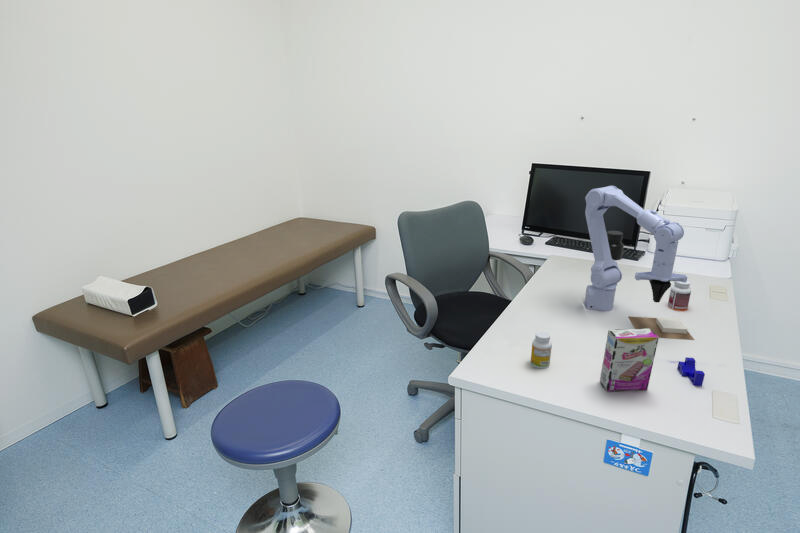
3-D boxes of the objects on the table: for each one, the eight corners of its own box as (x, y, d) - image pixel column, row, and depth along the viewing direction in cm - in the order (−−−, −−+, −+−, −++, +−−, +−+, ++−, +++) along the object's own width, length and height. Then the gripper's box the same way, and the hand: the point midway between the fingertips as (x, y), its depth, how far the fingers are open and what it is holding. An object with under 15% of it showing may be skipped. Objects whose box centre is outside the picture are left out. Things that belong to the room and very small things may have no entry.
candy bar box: (607, 392, 121) (616, 338, 116) (599, 381, 126) (607, 328, 120) (649, 391, 122) (659, 336, 116) (639, 380, 126) (649, 327, 121)
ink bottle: (607, 252, 223) (611, 228, 219) (625, 256, 217) (629, 232, 213) (597, 257, 218) (600, 232, 213) (615, 261, 211) (619, 236, 207)
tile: (663, 327, 147) (687, 329, 146) (656, 317, 154) (679, 319, 152) (662, 332, 148) (686, 334, 147) (655, 322, 154) (678, 323, 153)
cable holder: (677, 369, 131) (679, 356, 130) (690, 370, 130) (693, 357, 129) (687, 385, 124) (690, 372, 122) (701, 386, 123) (704, 374, 122)
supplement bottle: (535, 356, 139) (537, 328, 135) (552, 362, 135) (555, 333, 132) (527, 364, 135) (529, 335, 131) (545, 370, 132) (548, 341, 128)
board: (638, 339, 147) (639, 336, 146) (627, 318, 159) (627, 316, 159) (694, 342, 144) (694, 340, 143) (677, 321, 156) (678, 319, 156)
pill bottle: (690, 310, 164) (696, 282, 160) (681, 315, 161) (687, 286, 157) (672, 304, 169) (678, 276, 165) (663, 308, 166) (669, 280, 162)
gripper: (642, 265, 141) (635, 305, 146) (694, 267, 138) (685, 307, 143) (635, 257, 148) (629, 295, 153) (685, 259, 145) (677, 298, 150)
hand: (656, 301), depth 148 cm, fingers closed
